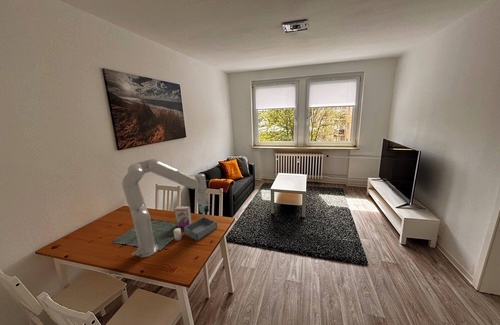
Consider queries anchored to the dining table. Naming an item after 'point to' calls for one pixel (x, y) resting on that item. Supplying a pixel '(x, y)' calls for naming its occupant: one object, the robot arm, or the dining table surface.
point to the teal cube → (202, 209)
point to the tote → (200, 228)
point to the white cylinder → (177, 234)
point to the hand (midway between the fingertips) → (204, 211)
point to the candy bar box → (182, 216)
